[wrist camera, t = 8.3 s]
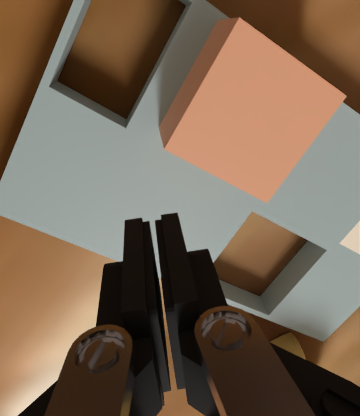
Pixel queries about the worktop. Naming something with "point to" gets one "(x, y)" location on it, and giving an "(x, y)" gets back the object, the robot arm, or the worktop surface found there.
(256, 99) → the block
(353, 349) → the worktop surface
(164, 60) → the trap deck
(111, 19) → the worktop surface
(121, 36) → the worktop surface
